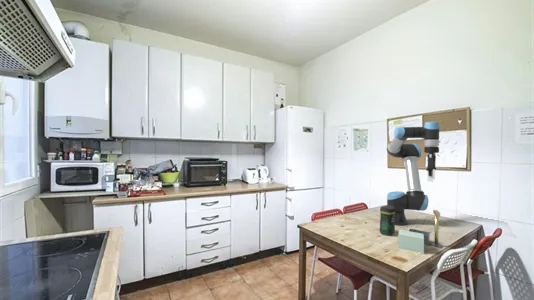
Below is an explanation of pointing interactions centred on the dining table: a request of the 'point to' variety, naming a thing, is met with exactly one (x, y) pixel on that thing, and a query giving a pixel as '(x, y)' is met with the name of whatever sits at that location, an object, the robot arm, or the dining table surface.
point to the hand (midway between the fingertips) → (431, 180)
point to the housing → (426, 238)
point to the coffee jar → (387, 220)
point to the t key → (436, 224)
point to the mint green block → (411, 241)
